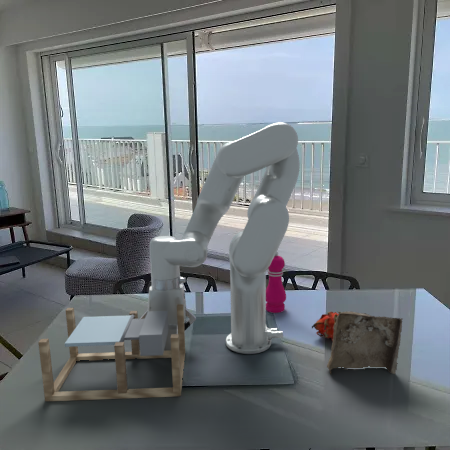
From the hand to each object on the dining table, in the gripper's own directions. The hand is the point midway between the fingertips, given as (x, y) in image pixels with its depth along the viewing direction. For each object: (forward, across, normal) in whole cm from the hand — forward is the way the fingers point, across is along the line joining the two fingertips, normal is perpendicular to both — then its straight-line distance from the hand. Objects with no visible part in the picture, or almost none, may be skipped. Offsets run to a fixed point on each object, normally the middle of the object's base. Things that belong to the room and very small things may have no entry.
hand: (168, 344), depth 115 cm
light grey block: (+1, 0, 0) cm, 1 cm away
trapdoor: (-8, +10, +14) cm, 19 cm away
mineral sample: (+1, -48, +16) cm, 51 cm away
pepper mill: (+1, -33, -23) cm, 40 cm away
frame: (+1, +10, +14) cm, 17 cm away
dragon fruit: (+1, -46, -1) cm, 46 cm away
